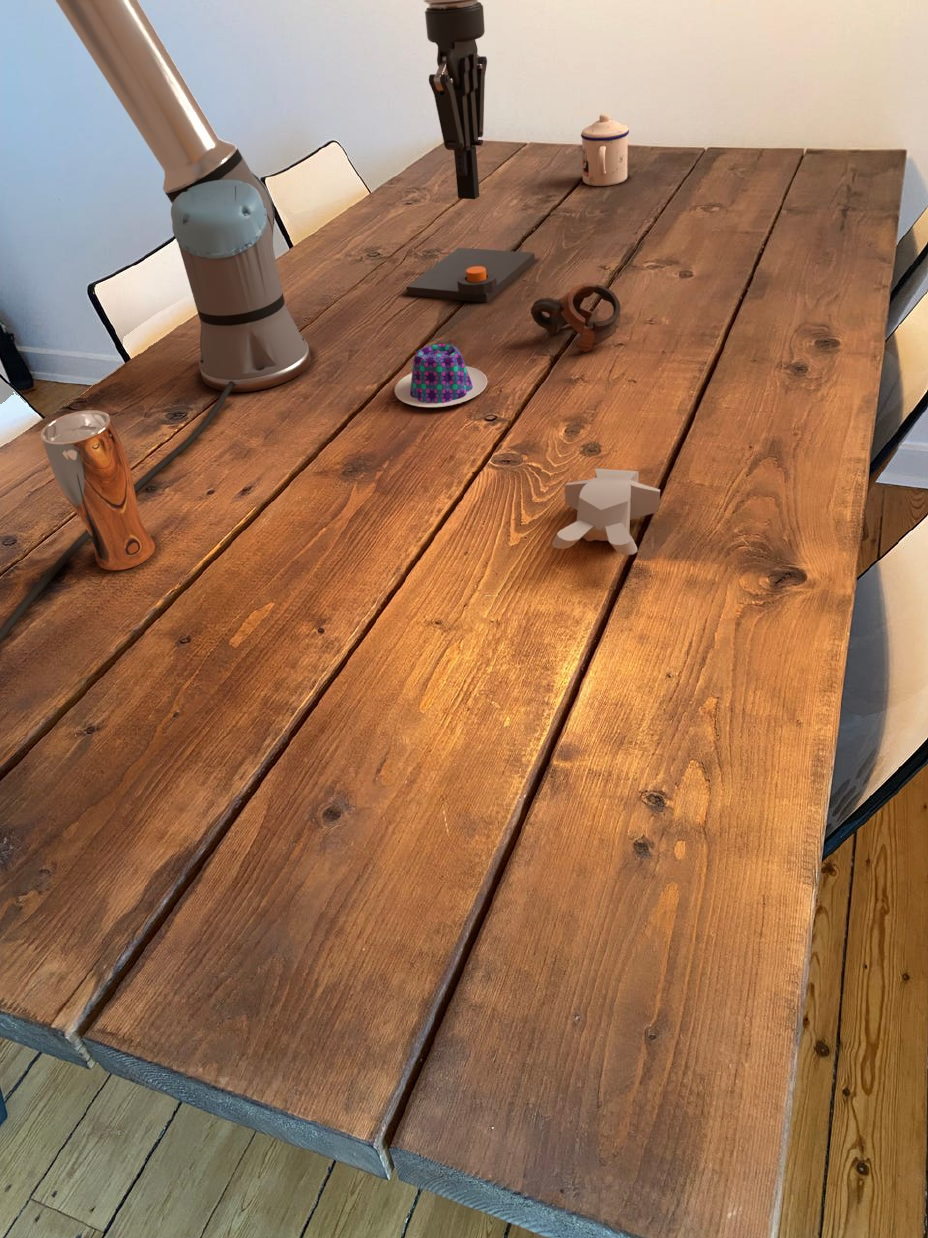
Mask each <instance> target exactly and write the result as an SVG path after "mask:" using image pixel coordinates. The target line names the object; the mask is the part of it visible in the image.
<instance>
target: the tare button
mask: <svg viewBox="0 0 928 1238" xmlns="http://www.w3.org/2000/svg"><path fill="white" fill-rule="evenodd" d="M466 276H467V281H468V282H479V281H483V280H486V279H487V278H486V268H485V267H482V266H475V267H470V268H468V269H467V270H466Z"/></svg>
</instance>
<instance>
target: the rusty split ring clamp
mask: <svg viewBox="0 0 928 1238" xmlns="http://www.w3.org/2000/svg"><path fill="white" fill-rule="evenodd" d="M594 293H595V294H597V295H599V296H600V298H601V300H603V301H606V302H608V303H610V304H611V306H612V309H613V312H612V315H611V316H610V317H609V318H607V319H604V320H597V321H593V322H592V328H591V327H588V326H589V325H590V322H591V318H592V316H593V314H594V312H593V311H592V310H588V309H585V308H583V307H581V306H582V303H583V302H584V300H585V299H587V298H589V297H591V296H592V295H594ZM544 313H546V314H548V316H546V315H545V314H544ZM530 314H531V316H532V320H533V321H534V322H535V323H536V324H537V325H538V326H539V327H540V328H542V329H544V330H546V331H547V333H548V334H549V336H550V337H554V336H555V334H558V332H559V331H560V330H561V329H562V328H563V327H565V326H567V325H569V326H570V327H571V328H572V330H574V332H576V333H578V334H580V338H579V341H578V342H577V344H576V348H577V350H578V351H581V352H584V353H588V352H589V351H590V350H592V349H593V346H597V345H599V344H601V343H603V342H605V341H606V340H608V339H610V338H611V337H612V336H613V335H614V334H616V333H617V329H618V328H619V327H620V324H621V303H620V300H619V299H618V297H617V296H616V294H615V293H614V292H613V291H612V290H610V289H609V288H607V287H606V286H604V285H601V284H598V283H597V284H595V283H582V284H578V285H576V286H574V287H573V288H571V290H570V291H569V292H567V293H565V294H564V295H563V296H562V297H560V298H559V299H556V298H552V297H542V298H539V299H537V300H536V301H534V303H533V304H532V306H531V308H530Z"/></svg>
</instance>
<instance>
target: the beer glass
mask: <svg viewBox="0 0 928 1238" xmlns="http://www.w3.org/2000/svg"><path fill="white" fill-rule="evenodd" d="M39 435H40V440H41V441H42V444H43V446H44V450H45V453H46V456H47V459H48V462H49V466H50V468H51V470H52V473H53V476H54V477H55V479H56V482H57V484H58V486H59V488H60V490H61V491H62V493H63V495H64V496H65V498H66V500H67V502H68V503H69V504H70V506H71V507H72V509H73V510H74V512H75V513H76V515H77V516H78V517H79V519H80V521H81V522H82V524H83V525H84V527H85V528H86V530H88V532H89V534H90V539H91V542H92V547H93V551H94V552H93V553H94V557H95V562H96V563H97V565H98V566H99V567H100V568H101V569H104V570H107V571H113V572H114V571H124V570H128V569H132V568H135V567H137V566H139V565H141V564H143V563H144V562H146V561H147V560H148V559H149V558H150V557H151V556H152V555H153V553H154V552H155V549H156V545H155V542H154V540H153V538H152V537H151V536H150V534H149V532H148V531H147V529H146V527H145V526H144V525H145V524H143V523H144V522H142V519H141V515H140V513H139V507H138V503H137V495H136V493H135V489H134V484H135V483H134V478H133V473H132V469H131V464H130V461H129V458H128V456H127V453H126V451H125V448H124V445H123V444H122V440H121V439H120V436H119V434H118V432H117V430H116V428H115V426H114V424H113V422H112V419H111V416H110V415H109V414H108V413H106V412H104V411H101V410H96V409H95V410H93V409H92V410H89V409H88V410H81V411H75V412H71V413H67V414H65V415H62V416H60V417H57V418H55V419H54V420H52V421H50V422H48V423H47V424H46V425H45V426H44V427H43V428H42V430H41V431H40V434H39Z"/></svg>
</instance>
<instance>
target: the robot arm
mask: <svg viewBox="0 0 928 1238" xmlns="http://www.w3.org/2000/svg"><path fill="white" fill-rule="evenodd" d="M55 2H56V4H57V5H58V6H59V8H60V9H61V11H62V13H63V14H64V16H65V17H66V19H67V21H68V22H69V24H70V26H71V27H72V29H73V30H74V31H75V33H76V35H77V36H78V38H79V39H80V41H81V43H82V44H83V46H84V47H85V49H86V50H87V52H88V54H89V55H90V56H91V59H92V60H93V61H94V63H95V65H96V66H97V68H98V69H99V71H100V72H101V74H102V76H103V77H104V79H105V81H106V82H107V83H108V85H109V86H110V88H111V90H112V91H113V93H114V95H115V96H116V97H117V99H118V101H119V102H120V103H121V105H122V107H123V108H124V110H125V112H126V113H127V115H128V116H129V118H130V119H131V121H132V122H133V124H134V126H135V127H136V129H137V130H138V132H139V133H140V135H141V137H142V138H143V140H144V141H145V144H146V145H147V146H148V148H149V149H150V151H151V152H152V154H153V155H154V157H155V159H156V160H157V162H158V163H159V165H160V166H161V168H162V170H163V172H164V179H163V185H162V190H163V192H164V193H165V195H166V196H167V198H168V200H169V201H170V203H171V207H170V218H171V222H172V223H171V224H172V225H171V226H172V227H171V229H172V233H173V237H175V240H176V242H177V245H178V248H179V251H180V256H181V259H182V262H183V265H184V270H185V273H186V276H187V280H188V283H189V287H190V290H191V292H192V293H191V294H192V298H193V301H194V304H195V308H196V311H197V314H198V318H199V323H200V334H199V335H200V336H199V337H200V339H199V340H200V341H199V342H200V343H199V348H200V349H199V350H200V351H199V352H200V356H199V359H198V360H199V361H198V362H199V363H198V366H199V371H200V374H201V377H202V381H203V383H204V384H205V385H206V386H208V387H209V388H211V389H214V390H216V391H221V394H220V395H219V397H218V399H217V401H216V402H215V404H214V405H213V407H212V408H211V410H210V411H209V412H208V414H207V415H206V417H205V418H204V419H203V420H202V421H201V423H200V424H199V425H198V427H196V429H194V431H193V432H192V433H191V434H190V435H189V436H188V437H187V438H186V439H185V440H183V442H182V443H180V444H179V445H178V446H177V447H176V448H174V449H173V450H172V451H171V452H170V453H169V454H167V455H166V456H165V457H164V458H162V459H161V460H160V461H159V462H158V463H157V464H155V465H154V466H153V467H152V468H151V469H150V470H149V471H147V472H146V473H145V474H144V475H143V476H142V477H141V478H139V479H138V480H137V482H135V483H134V489H135V494H136V493H137V492H139V491H140V490H141V489H142V488H143V487H144V486H145V485H146V484H147V483H149V482H150V481H151V480H152V479H153V477H155V476H156V475H157V474H159V473H160V472H161V471H162V470H163V469H164V468H165V467H167V465H169V464H170V463H171V462H172V461H174V460H175V459H176V458H177V457H178V456H179V455H180V454H182V453H183V452H184V451H185V450H186V449H187V448H189V447H190V446H191V445H192V444H193V443H194V442H195V441H196V440H197V439H198V438H199V436H201V434H202V433H203V432H204V431H205V430H206V429H207V427H208V426H209V425H210V424H211V422H212V421H213V420H214V418H215V416H216V415H217V413H218V412H219V411H220V410H221V408H222V406H223V405H224V403H225V402H226V399H227V398H228V396H229V394H230V393H245V392H255V391H260V390H266V389H270V388H273V387H276V386H280V385H282V384H284V383H286V382H289V381H291V380H293V379H295V378H296V377H298V376H300V375H301V374H302V373H303V372H304V371H305V370H306V369H307V368H308V367H309V366H310V364H311V362H312V361H311V360H312V359H311V353H310V348H309V344H308V342H307V341H306V339H305V337H304V336H303V335H302V334H301V333H300V330H299V329H298V326H297V325H296V323H295V321H294V319H293V317H292V314H291V313H290V311H289V310H288V308H287V305H286V301H285V296H284V292H283V287H282V282H281V279H280V274H279V269H278V265H277V261H276V260H277V259H276V255H275V250H274V228H275V227H274V226H275V207H274V205H273V200H272V197H271V194H270V192H269V190H268V188H267V187H266V186H265V184H264V182H263V181H262V180H261V179H260V178H259V177H258V176H257V175H256V174H255V173H254V172H253V171H252V170H251V169H250V168H249V165H248V164H247V161H245V159H244V157H243V155H242V154H241V152H240V150H239V148H238V146H237V145H236V144H235V143H232V142H229V141H227V140H224V139H221V138H220V137H219V136H218V135H217V132H216V131H215V130H214V128H213V126H212V124H211V123H210V120H209V119H208V118H207V116H206V114H205V113H204V111H203V109H202V107H201V106H200V104H199V102H198V100H197V99H196V97H195V95H194V94H193V92H192V90H191V88H190V87H189V85H188V83H187V82H186V80H185V77H183V75H182V73H181V72H180V70H179V68H178V66H177V65H176V63H175V61H174V60H173V58H172V56H171V54H170V53H169V51H168V49H167V48H166V46H165V44H164V43H163V41H162V39H161V38H160V36H159V34H158V32H157V31H156V29H155V27H154V25H153V24H152V22H151V21H150V19H149V17H148V15H147V14H146V12H145V10H144V9H143V7H142V5H141V3H140V1H139V0H55ZM423 2H424V3H425V4H426V5H428V7H426V10H425V11H424V16H425V17H424V18H425V28H426V37H427V40H428V41H429V42H430V43H433V44H434V43H435V44H436V46H437V54H436V55H437V56H436V64H437V67H438V68H437V71H436V73H433V74H432V73H430V74H429V75H428V83H429V86H430V87H431V91H432V93H433V97H434V101H435V107H436V111H437V116H438V122H439V126H440V130H441V135H442V140H443V145H444V148H445V149H446V151H453V153H454V154H453V155H454V167H455V178H456V188H457V191H456V192H457V199H460V200H461V199H462V200H476V199H478V198H479V197H480V184H479V171H478V156H477V147H481V146H483V144H484V139H479V138H483V136H484V121H485V120H484V119H485V113H484V112H485V88H486V87H485V86H486V85H485V84H486V83H485V82H486V81H485V80H486V71H487V66H488V58H487V56H485V55H484V56H480V55H479V54H478V52H479V51H478V45H477V41H476V40H478V39H480V38H482V37H483V36H485V30H486V29H485V15H484V13H485V11H484V5H483V4H482V3H481V2H480V1H478V0H423ZM476 146H477V147H476ZM89 539H91V537H90V534H89V532H88V530H87V529H86V530H85V531H84V532H83V533H82V534H81V535H80V536H79V537H78V538H77V539H76V540H75V541H74V542H73V543H72V544H71V545H70V546H69V547H68V549H66V551H64V553H62V555H61V556H60V557H59V558H58V559H57V560H56V561H55V563H54V564H53V565H52V566H51V567H50V568H49V569H48V570H47V572H46V573H45V574H44V575H43V576H42V577H41V579H40V580H39V581H38V582H37V583H36V584H35V585H34V587H33V588H32V589H31V590H30V592H29V593H28V594H27V595H26V596H25V597H24V599H22V601H21V603H20V604H18V606H17V607H16V609H14V611H13V612H12V613H11V615H10V616H9V617H8V619H6V621H5V622H4V623H3V625H2V626H1V627H0V644H1V643H2V642H3V641H4V639H5V638H6V636H7V635H8V634H9V633H10V632H11V630H12V629H13V628H14V626H15V625H16V623H17V622H18V621H19V620H20V618H22V616H23V615H24V614H25V613H26V611H27V610H28V609H29V607H30V606H32V603H33V602H34V601H35V600H36V599H37V597H38V596H39V595H40V594H42V591H43V590H44V589H45V588H46V587H47V585H49V584H50V582H51V581H52V580H53V579H54V577H55V576H56V575H57V574H58V573H59V572H60V571H61V570H62V569H63V567H64V566H65V565H66V564H67V563H68V561H70V559H72V557H73V556H74V555H75V554H76V553H77V552H78V551H79V549H80V548H82V546H83V545H84V544H85V543H86V542H88V540H89Z"/></svg>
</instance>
